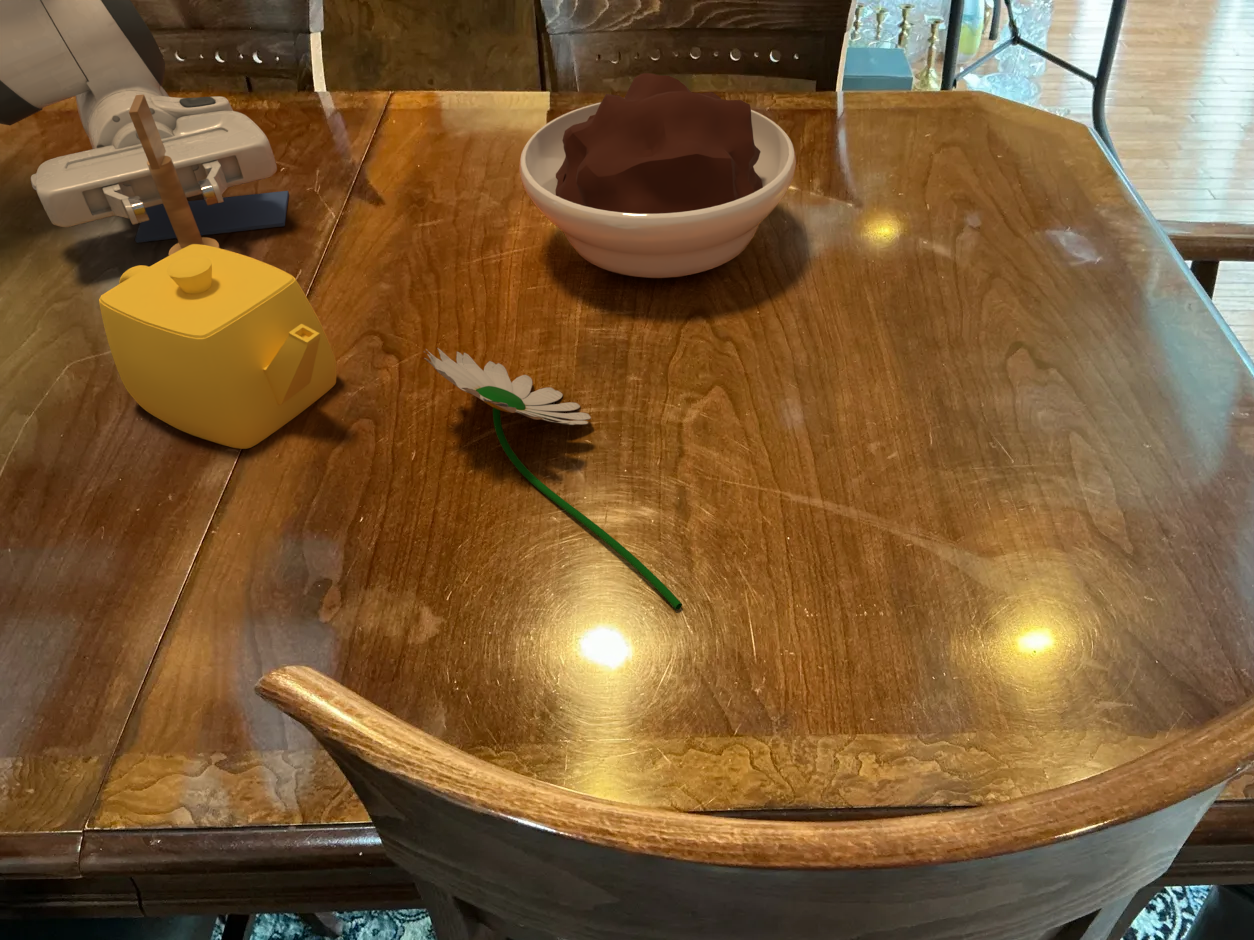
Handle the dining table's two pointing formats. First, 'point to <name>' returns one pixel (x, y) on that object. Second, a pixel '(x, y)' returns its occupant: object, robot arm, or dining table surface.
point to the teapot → (217, 344)
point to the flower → (518, 398)
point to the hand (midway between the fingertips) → (176, 205)
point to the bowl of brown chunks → (658, 177)
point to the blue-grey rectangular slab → (220, 216)
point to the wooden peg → (166, 178)
